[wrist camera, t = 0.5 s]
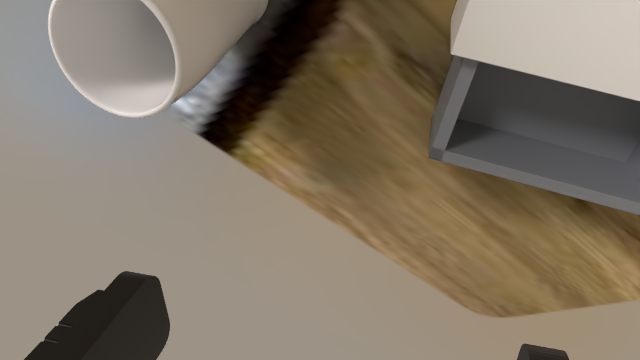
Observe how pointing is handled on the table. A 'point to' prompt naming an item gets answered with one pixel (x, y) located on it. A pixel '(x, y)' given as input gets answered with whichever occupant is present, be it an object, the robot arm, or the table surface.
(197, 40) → the white cup
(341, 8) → the table surface
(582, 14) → the mailer sleeve
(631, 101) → the tray
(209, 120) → the table surface
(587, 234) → the table surface
